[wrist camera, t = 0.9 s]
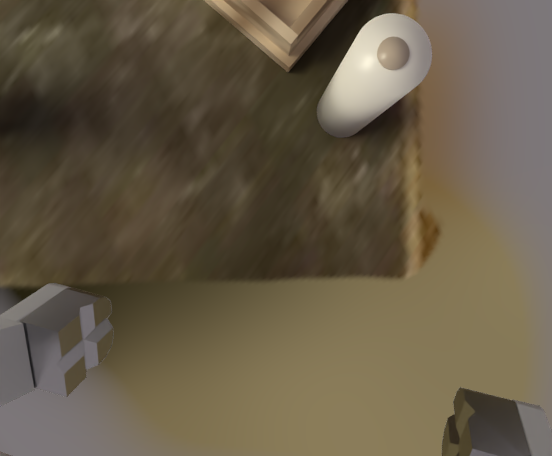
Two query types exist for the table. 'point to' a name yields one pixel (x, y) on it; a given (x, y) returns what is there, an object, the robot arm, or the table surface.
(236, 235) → the table surface
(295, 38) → the holder
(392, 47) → the roll
